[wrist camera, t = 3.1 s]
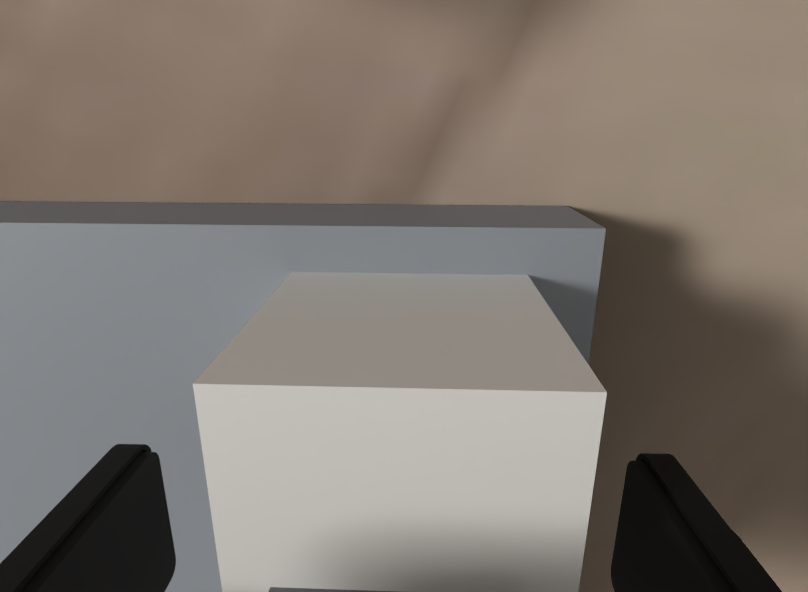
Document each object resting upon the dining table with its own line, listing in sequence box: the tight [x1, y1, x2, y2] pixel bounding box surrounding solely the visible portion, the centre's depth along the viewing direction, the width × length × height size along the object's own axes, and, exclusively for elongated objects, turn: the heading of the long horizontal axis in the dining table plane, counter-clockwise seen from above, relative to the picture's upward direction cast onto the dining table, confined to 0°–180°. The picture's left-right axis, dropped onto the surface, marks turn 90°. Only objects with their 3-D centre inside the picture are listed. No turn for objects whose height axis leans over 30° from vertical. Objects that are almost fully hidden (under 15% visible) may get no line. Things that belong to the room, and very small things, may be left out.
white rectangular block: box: [193, 272, 607, 592], centre depth 10 cm, size 5×8×5 cm, turn 0°
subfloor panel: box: [0, 201, 606, 592], centre depth 16 cm, size 16×22×3 cm
